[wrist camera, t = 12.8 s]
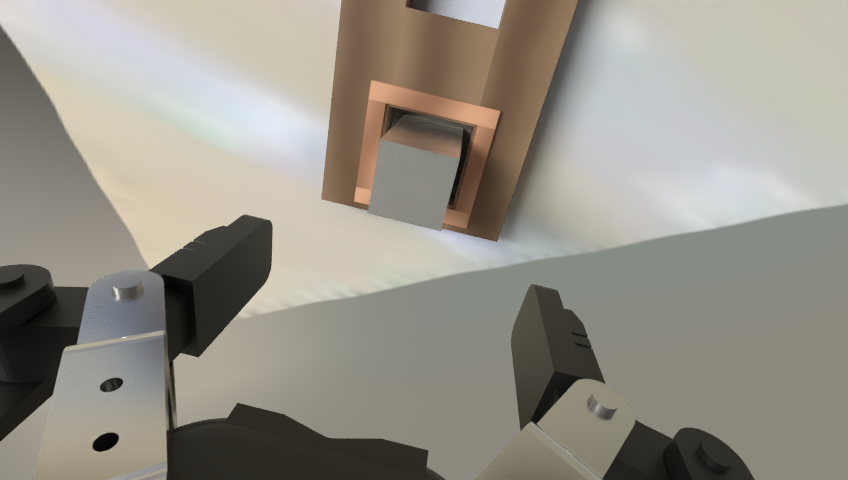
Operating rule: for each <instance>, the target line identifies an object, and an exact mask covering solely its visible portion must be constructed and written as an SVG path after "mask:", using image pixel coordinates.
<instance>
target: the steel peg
mask: <svg viewBox="0 0 848 480" xmlns="http://www.w3.org/2000/svg"><path fill="white" fill-rule="evenodd" d="M462 135H463V128H460V127H456V126H452V125H448V124H444V123H440V122H436V121H432V120H428V119H424V118H420V117H416V116H412V115H408V114H404V115H403V116H402V117H401V119H400V120H399V121H398V122H397V123H396V124H395V125H394V126H393V127H392V128H391V129H390V130H389V131H388V132H387V133H386V134H385V135H384V136H383V137H382V138H381V139H380V143H379V149H378V155H377V161H376V167H375V173H374V179H373V185H372V191H371V197H370V203H369V209H368V213H370V214H374V215H378V216H382V217H386V218H390V219H394V220H398V221H402V222H406V223H410V224H414V225H418V226H422V227H426V228H430V229H434V230H439V231H441V228H442V224H443V221H444V217H445V213H446V209H447V206H448V202H449V198H450V194H451V191H452V187H453V183H454V179H455V175H456V172H457V168H458V164H459V160H460V153H461V144H462Z"/></svg>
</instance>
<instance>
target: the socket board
mask: <svg viewBox="0 0 848 480" xmlns="http://www.w3.org/2000/svg"><path fill="white" fill-rule="evenodd" d="M412 2H413V0H342V2H341V12H340V22H339V31H338V41H337V51H336V61H335V71H334V81H333V91H332V101H331V111H330V120H329V130H328V140H327V150H326V160H325V170H324V180H323V190H322V199H323V200H327V201H331V202H335V203H339V204H344V205H348V206H352V207H356V208H360V209H364V210H368V209H369V203H370V197H371V191H372V185H373V179H374V173H375V167H376V161H377V155H378V149H379V143H380V139H381V138H382V137H383V136H384V135H385V134H386V133H387V132H388V131H389V130H390V129H391V124H392V118H393V113H394V107H395V108H399V109H403V110H407V111H411V112H416V113H420V114H424V115H428V116H432V117H436V118H440V119H444V120H449V121H453V122H457V123H461V124H465V125H469V126H473V127H472V130H471V134H470V138H469V142H468V145H467V149H466V153H465V157H464V161H463V164H462V168H461V172H460V176H459V179H458V183H457V187H456V191H455V195H452V194H450V198H449V202H448V206H447V209H446V213H445V217H444V221H443V224H442V229H447V230H451V231H455V232H459V233H463V234H467V235H471V236H475V237H480V238H484V239H488V240H492V241H496V242H497V240H498V237H499V234H500V231H501V228H502V225H503V222H504V219H505V216H506V213H507V210H508V207H509V204H510V201H511V199H512V196H513V193H514V190H515V187H516V184H517V181H518V178H519V175H520V172H521V169H522V166H523V163H524V160H525V157H526V154H527V151H528V148H529V145H530V142H531V139H532V136H533V133H534V130H535V127H536V124H537V121H538V118H539V115H540V112H541V109H542V106H543V103H544V101H545V98H546V95H547V92H548V89H549V86H550V83H551V80H552V77H553V74H554V71H555V68H556V65H557V62H558V59H559V56H560V53H561V50H562V47H563V44H564V41H565V38H566V35H567V32H568V29H569V26H570V23H571V20H572V17H573V14H574V11H575V8H576V5H577V3H578V0H506V2H505V6H504V9H503V13H502V17H501V21H500V25H499V28H498V29H495V28H491V27H487V26H483V25H479V24H475V23H470V22H466V21H462V20H458V19H454V18H450V17H445V16H441V15H437V14H433V13H429V12H425V11H421V10H416V9H412Z"/></svg>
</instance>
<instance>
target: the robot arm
mask: <svg viewBox="0 0 848 480" xmlns="http://www.w3.org/2000/svg"><path fill="white" fill-rule="evenodd" d="M271 262H272V223H271V221H270V220H266V219H262V218H258V217H254V216H249V215H243V216H241V217H240V218H238V219H237V220H235V221H234V222H233V223H231V224H230V225H229V226H227V227H226V226H221V227H218V228H215V229H212V230H209V231H206V232H204V233H203V234H201V235H200V236H198V237H197V238H196V239H194V241H193V242H190V243H188V244H187V245H185V246H184V247H183V249H180V250H178V251H177V252H175V253H174V254H172V255H171V256H169V257H168V258H166V259H165V260H163V261H162V262H161V263H159V264H158V265H156V266H155V267H153V268H152V269H150V270H149V271H144V270H128V271H122V272H116V273H113V274H110V275H107V276H104V277H103V278H100V279H99V280H97V281H96V282H94V283H93V284H92V285H91V286H90V287H89V288H87V287H54V285H53V281H52V278H51V274H50V272H49V271H48V270H47V269H45V268H43V267H40V266H36V265H25V264H24V265H8V266H2V267H0V441H1V440H2V439H4V438H5V437H6V436H7V435H8V434H9V433H10V432H11V431H12V430H14V429H15V428H16V427H17V426H18V425H19V424H20V423H21V422H23V421H24V420H25V419H26V418H27V417H28V416H29V415H30V414H32V413H33V412H34V411H35V410H36V409H37V408H38V407H39V406H41V405H42V404H43V403H44V402H45V401H46V400H47V399H48V398H50V397H51V396H52V395H53V396H52V400H51V404H50V409H49V413H48V418H47V421H46V426H45V430H44V434H43V438H42V442H41V447H40V451H39V456H38V460H37V464H36V468H35V473H34V476H33V480H445V479H444V478H443V477H441V476H440V475H438V474H437V473H436V472H434V471H433V470H431V469H429V468H427V467H426V466H427V457H428V450H424V449H420V448H416V447H412V446H408V445H404V444H400V443H396V442H392V441H388V440H384V439H334V438H333V439H332V438H327V437H325V436H323V435H321V434H319V433H317V432H315V431H313V430H312V429H309V428H308V427H306V426H304V425H302V424H300V423H299V422H297V421H295V420H293V419H291V418H290V417H288V416H286V415H284V414H280V413H276V412H272V411H268V410H264V409H260V408H256V407H252V406H248V405H244V404H240V403H237V405H236V406H235V408H234V409H233V411H232V412H231V414H230V415H229V416H228V418H219V419H209V420H203V421H198V422H194V423H191V424H187V425H184V426H181V427H178V428H177V413H176V394H175V375H174V363H173V360H174V359H175V358H176V357H177V356H178V355H179V354H180V353H184V354H187V355H192V356H195V357H199V356H200V355H201V354H202V353H203V352H204V351H205V350H206V348H207V347H208V346H209V345H210V344H211V343H212V342H213V340H215V338H216V337H217V336H218V335H219V334H220V333H221V332H222V331H223V330H224V328H225V327H226V326H227V325H228V324H229V323H230V322H231V321H232V319H233V318H234V317H235V316H236V315H237V314H238V313H239V312H240V311H241V309H242V308H243V307H244V306H245V305H246V304H247V303H248V302H249V300H250V299H251V298H252V297H253V296H254V295H255V294H256V293H257V292H258V290H259V289H260V288H261V287H262V286H263V285H264V284H265V282H266V280H267V279H268V276H269V274H270V270H271ZM511 348H512V356H513V366H514V375H515V384H516V393H517V402H518V411H519V420H520V430H521V431H520V433H519V434H518V435H517V436H516V437H515V438H514V439H513V440H512V441H511V442H510V443H509V444H508V445H507V446H506V447H505V448H504V449H503V450H502V452H501V453H500V454H499V455H498V456H497V457H496V458H495V459H494V460H493V461H492V462H491V463H490V464H489V465H488V467H486V468H485V470H484V471H483V472H482V473H481V474H480V475H479V476H478V477H477V478H476V479H475V480H754V478H753V476H752V475H751V473H750V471H749V470H748V468H747V466H746V465H745V464H744V462H743V461H742V459H741V458H740V457H739V456H738V455H737V454H736V453H735V452H734V451H733V450H732V449H731V448H730V447H729V446H728V445H726V444H725V443H724V442H722V441H721V440H719V439H718V438H716V437H715V436H713V435H711V434H709V433H707V432H705V431H702V430H699V429H695V428H683V429H680V430H679V431H678V432H677V434H676V435H675V436H674V438H673V439H671V438H670V437H667V436H666V435H664V434H662V433H659V432H658V431H656V430H654V429H652V428H650V427H647V426H645V425H644V424H642V423H640V422H638V421H636V420H635V415H634V412H633V410H632V408H631V406H630V404H629V403H628V402H627V400H626V399H625V398H624V397H623V396H622V395H621V394H620V393H618V392H617V391H616V390H614V389H613V388H611V387H610V386H608V385H606V384H605V381H604V379H603V376H602V373H601V371H600V368H599V365H598V363H597V360H596V357H595V355H594V352H593V350H592V349H591V344H590V341H589V339H588V338H587V333H586V331H585V328H584V325H583V323H582V322H581V321H580V320H579V318H578V317H577V316H576V315H575V314H574V313H573V311H572V310H568V309H564V308H563V305H562V302H561V299H560V296H559V293H558V291H557V290H555V289H551V288H546V287H542V286H538V285H534V284H532V285H531V286H530V287H529V289H528V291H527V294H526V296H525V299H524V301H523V304H522V306H521V309H520V311H519V314H518V316H517V319H516V322H515V324H514V328H513V331H512V338H511Z"/></svg>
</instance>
